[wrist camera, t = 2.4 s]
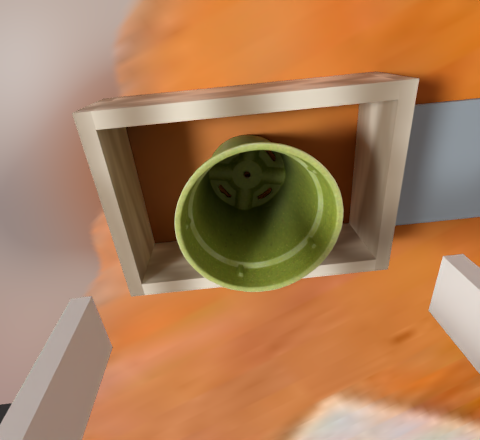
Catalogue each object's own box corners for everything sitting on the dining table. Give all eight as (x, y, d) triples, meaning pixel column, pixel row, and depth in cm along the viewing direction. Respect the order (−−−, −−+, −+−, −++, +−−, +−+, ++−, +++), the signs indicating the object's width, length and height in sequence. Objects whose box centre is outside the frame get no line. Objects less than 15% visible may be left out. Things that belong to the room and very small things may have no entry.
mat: (526, 93, 24) (531, 94, 23) (488, 213, 29) (492, 215, 28) (392, 106, 24) (395, 107, 23) (376, 225, 28) (378, 227, 28)
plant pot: (329, 175, 26) (375, 228, 18) (242, 244, 29) (251, 316, 21) (253, 82, 22) (271, 100, 15) (162, 171, 25) (137, 226, 17)
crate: (376, 71, 23) (419, 78, 18) (359, 231, 29) (387, 269, 24) (103, 98, 22) (72, 113, 17) (145, 254, 28) (131, 296, 24)
